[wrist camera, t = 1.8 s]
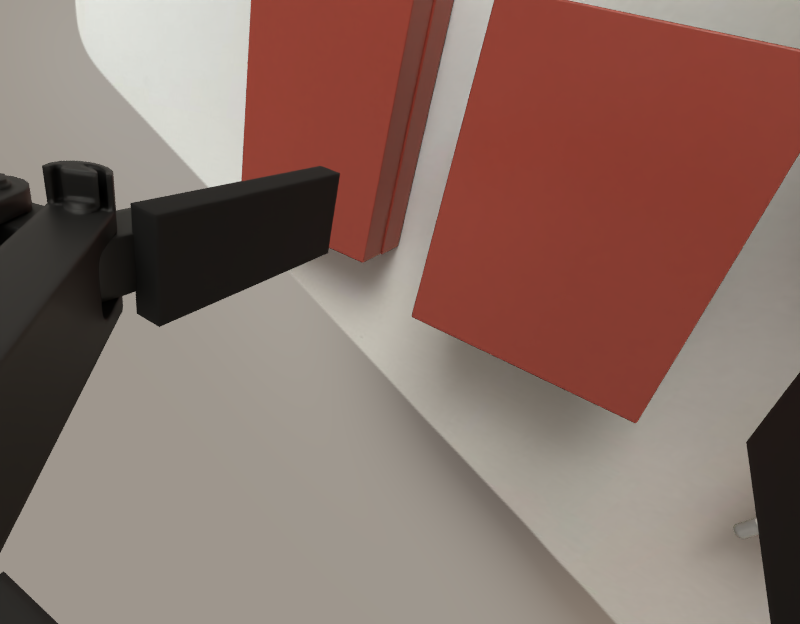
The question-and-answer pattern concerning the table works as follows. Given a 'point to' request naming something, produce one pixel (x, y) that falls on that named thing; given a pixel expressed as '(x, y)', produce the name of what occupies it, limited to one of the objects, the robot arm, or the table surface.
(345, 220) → the red box
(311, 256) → the robot arm
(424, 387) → the table surface
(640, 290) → the thin red book
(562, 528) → the table surface
